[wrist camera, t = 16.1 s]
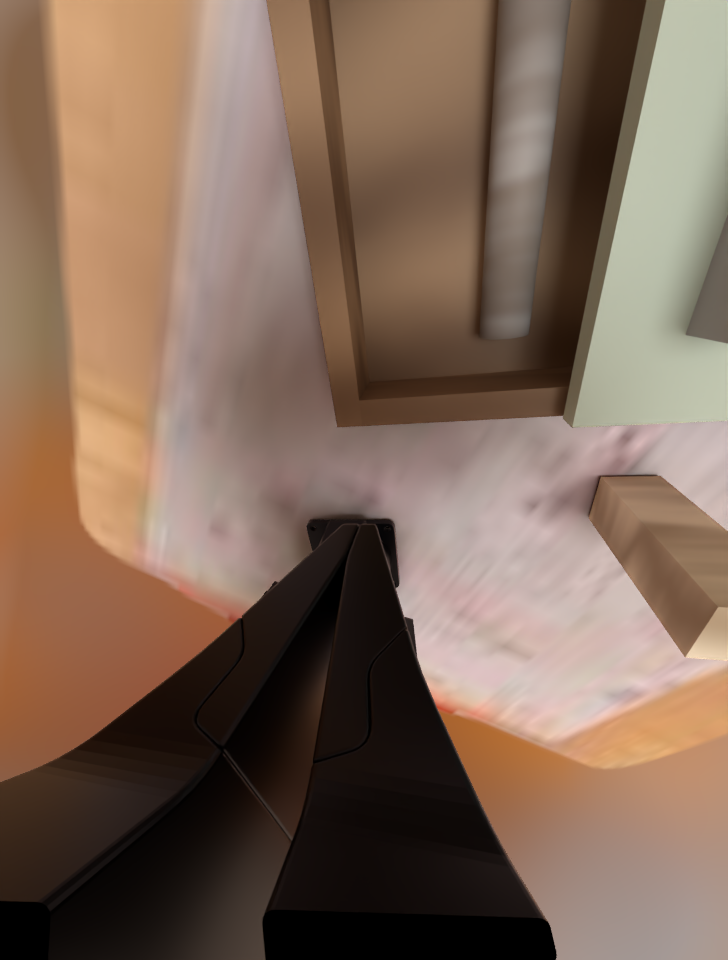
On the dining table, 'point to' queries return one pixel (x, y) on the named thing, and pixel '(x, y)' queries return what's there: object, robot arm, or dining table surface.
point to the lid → (663, 236)
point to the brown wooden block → (669, 558)
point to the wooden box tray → (452, 192)
